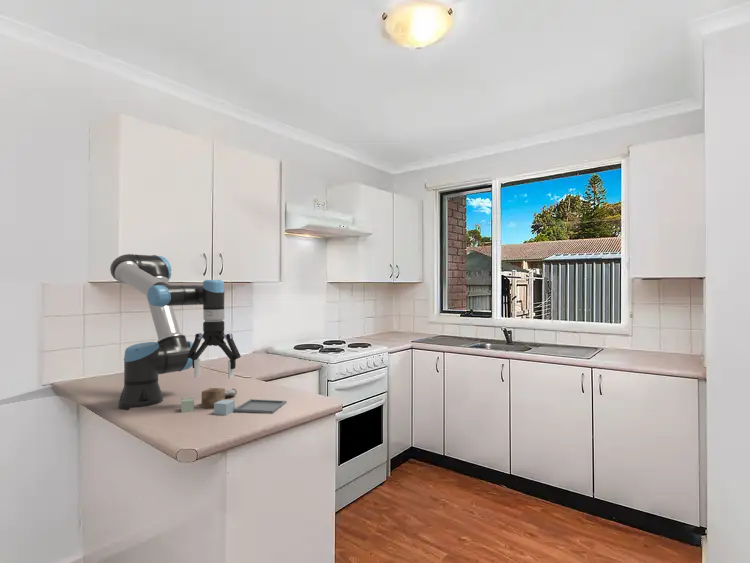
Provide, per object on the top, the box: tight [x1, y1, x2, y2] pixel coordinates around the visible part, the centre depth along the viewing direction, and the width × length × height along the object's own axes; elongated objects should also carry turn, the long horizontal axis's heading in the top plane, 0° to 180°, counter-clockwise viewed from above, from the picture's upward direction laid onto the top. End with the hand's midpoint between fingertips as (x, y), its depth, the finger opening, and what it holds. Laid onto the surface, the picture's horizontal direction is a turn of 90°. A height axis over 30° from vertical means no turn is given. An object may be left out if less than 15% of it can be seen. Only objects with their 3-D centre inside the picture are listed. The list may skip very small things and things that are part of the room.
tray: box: [233, 398, 287, 415], centre depth 162 cm, size 15×14×1 cm
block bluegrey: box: [213, 399, 236, 416], centre depth 156 cm, size 5×5×4 cm
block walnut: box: [201, 387, 226, 409], centre depth 165 cm, size 6×6×6 cm
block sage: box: [181, 397, 195, 413], centre depth 159 cm, size 4×4×4 cm
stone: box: [225, 388, 238, 398], centre depth 177 cm, size 10×7×3 cm
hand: (213, 377), depth 165 cm, fingers open, 13 cm apart
